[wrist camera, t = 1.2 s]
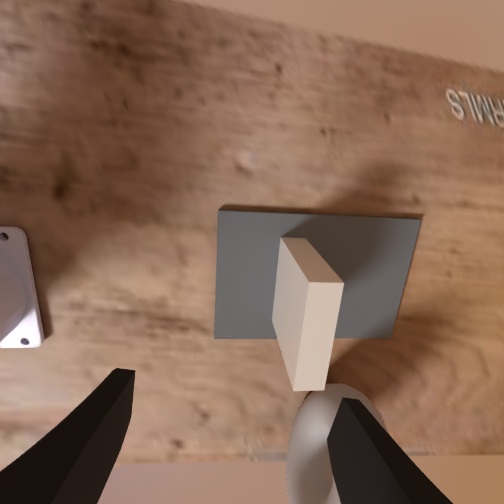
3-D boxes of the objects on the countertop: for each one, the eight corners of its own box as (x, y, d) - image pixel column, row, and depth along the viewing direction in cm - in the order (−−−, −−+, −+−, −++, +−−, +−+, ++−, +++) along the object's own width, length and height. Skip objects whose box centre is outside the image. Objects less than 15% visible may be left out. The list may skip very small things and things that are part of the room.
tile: (271, 320, 22) (293, 391, 16) (280, 237, 20) (308, 282, 14) (294, 320, 22) (324, 390, 16) (305, 238, 20) (344, 282, 14)
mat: (214, 335, 22) (214, 338, 22) (218, 209, 19) (218, 210, 19) (388, 334, 24) (390, 338, 24) (417, 218, 21) (421, 219, 21)
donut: (319, 348, 24) (386, 486, 14) (359, 359, 25) (446, 497, 15) (268, 444, 27) (297, 611, 17) (305, 451, 27) (351, 614, 18)
